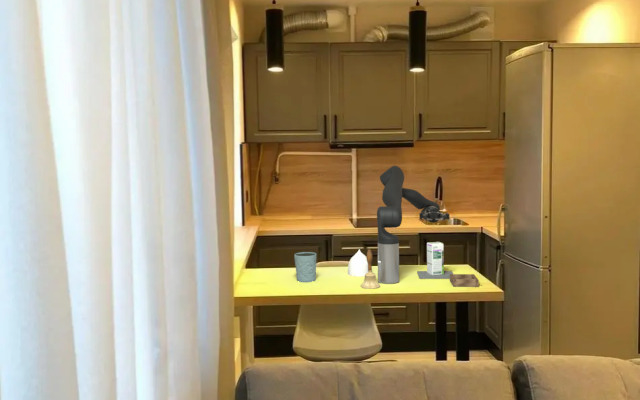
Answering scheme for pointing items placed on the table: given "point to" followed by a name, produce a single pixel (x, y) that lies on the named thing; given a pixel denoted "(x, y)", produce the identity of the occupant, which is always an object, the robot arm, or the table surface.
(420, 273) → the grey mat
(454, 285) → the walnut collar
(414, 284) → the table surface
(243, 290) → the table surface
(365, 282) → the hand bell
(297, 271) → the teal tapered cup
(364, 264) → the teardrop
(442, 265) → the syrup box
